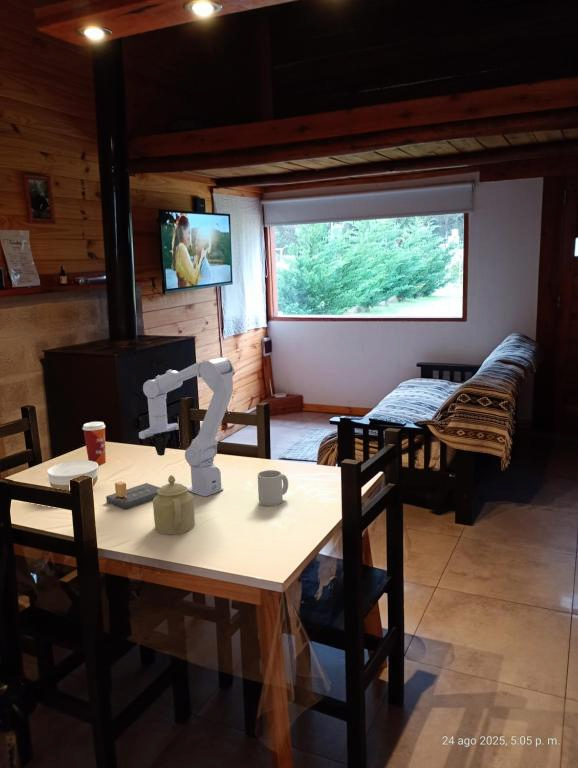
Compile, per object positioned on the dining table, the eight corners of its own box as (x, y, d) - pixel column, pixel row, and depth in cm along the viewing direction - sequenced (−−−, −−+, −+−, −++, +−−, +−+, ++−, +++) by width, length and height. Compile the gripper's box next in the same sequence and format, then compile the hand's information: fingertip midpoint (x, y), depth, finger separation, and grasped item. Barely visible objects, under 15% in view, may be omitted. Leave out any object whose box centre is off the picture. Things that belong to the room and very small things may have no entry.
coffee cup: (105, 465, 234) (101, 426, 231) (82, 466, 234) (78, 427, 231) (111, 459, 242) (108, 420, 239) (90, 459, 242) (86, 421, 240)
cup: (254, 501, 194) (253, 473, 192) (282, 494, 199) (281, 466, 198) (266, 508, 188) (265, 479, 186) (294, 500, 193) (293, 472, 192)
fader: (127, 496, 196) (125, 483, 195) (121, 498, 195) (120, 484, 194) (121, 494, 198) (120, 481, 197) (115, 495, 197) (114, 482, 196)
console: (165, 495, 202) (165, 489, 201) (125, 509, 191) (124, 503, 190) (146, 488, 208) (146, 482, 208) (106, 502, 197) (106, 496, 197)
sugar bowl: (211, 529, 174) (208, 477, 172) (178, 542, 167) (174, 488, 164) (180, 515, 185) (176, 466, 182) (147, 527, 177) (143, 476, 175)
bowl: (80, 479, 220) (78, 457, 219) (110, 487, 211) (108, 464, 209) (39, 493, 207) (36, 470, 206) (69, 503, 198) (66, 478, 197)
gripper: (168, 409, 216) (171, 447, 219) (132, 417, 206) (135, 458, 209) (181, 411, 212) (184, 451, 214) (144, 420, 201) (148, 461, 204)
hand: (160, 454), depth 211 cm, fingers closed
